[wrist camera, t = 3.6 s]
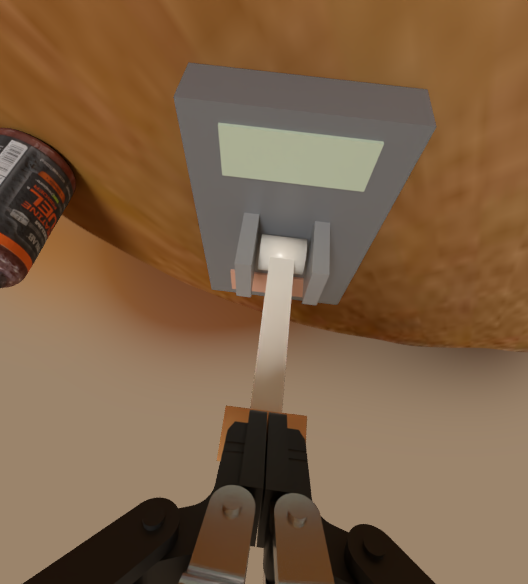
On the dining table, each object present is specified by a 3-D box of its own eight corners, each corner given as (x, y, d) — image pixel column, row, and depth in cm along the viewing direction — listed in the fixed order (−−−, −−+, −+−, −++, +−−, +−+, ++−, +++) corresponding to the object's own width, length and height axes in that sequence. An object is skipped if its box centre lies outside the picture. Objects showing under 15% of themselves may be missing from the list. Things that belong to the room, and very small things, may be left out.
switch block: (427, 89, 16) (451, 189, 12) (337, 278, 31) (337, 344, 28) (188, 62, 16) (147, 154, 13) (217, 263, 32) (203, 328, 28)
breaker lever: (315, 232, 21) (304, 472, 14) (309, 254, 23) (297, 471, 16) (255, 225, 21) (216, 460, 14) (254, 247, 23) (220, 461, 16)
